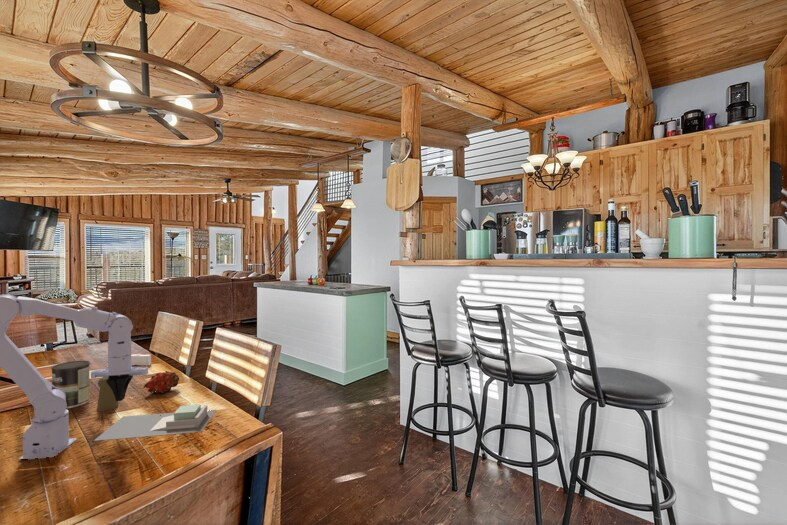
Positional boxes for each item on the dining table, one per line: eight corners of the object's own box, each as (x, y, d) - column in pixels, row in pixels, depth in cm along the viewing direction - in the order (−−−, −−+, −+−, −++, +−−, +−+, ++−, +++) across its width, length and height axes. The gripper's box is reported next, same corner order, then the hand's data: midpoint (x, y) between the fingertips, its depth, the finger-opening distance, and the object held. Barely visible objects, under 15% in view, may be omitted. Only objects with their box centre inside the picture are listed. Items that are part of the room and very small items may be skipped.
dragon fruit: (182, 392, 145) (146, 404, 138) (177, 376, 150) (142, 386, 143) (181, 379, 141) (144, 391, 133) (176, 363, 145) (140, 373, 138)
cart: (196, 422, 114) (195, 411, 114) (172, 423, 112) (172, 413, 112) (201, 414, 119) (201, 404, 119) (179, 416, 118) (179, 406, 118)
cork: (106, 412, 123) (106, 380, 123) (92, 411, 124) (91, 379, 124) (123, 405, 129) (122, 374, 129) (109, 404, 130) (108, 373, 130)
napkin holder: (116, 367, 174) (116, 355, 174) (142, 361, 184) (142, 350, 184) (132, 372, 167) (132, 359, 167) (158, 365, 177) (158, 354, 176)
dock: (201, 434, 109) (201, 421, 109) (93, 443, 104) (93, 430, 104) (216, 412, 125) (216, 400, 125) (123, 419, 119) (123, 407, 119)
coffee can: (59, 412, 123) (59, 370, 123) (46, 406, 128) (45, 366, 128) (95, 401, 132) (95, 362, 132) (82, 396, 137) (81, 359, 137)
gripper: (152, 350, 115) (152, 393, 115) (100, 352, 112) (100, 396, 113) (141, 356, 108) (142, 401, 109) (85, 359, 105) (86, 405, 106)
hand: (120, 399), depth 110 cm, fingers closed
